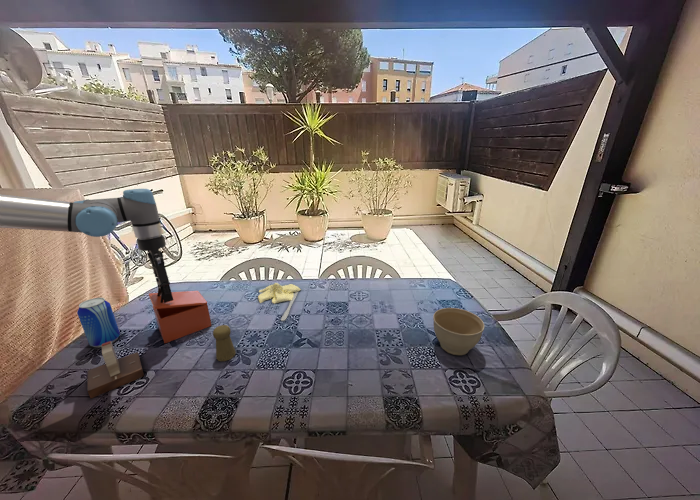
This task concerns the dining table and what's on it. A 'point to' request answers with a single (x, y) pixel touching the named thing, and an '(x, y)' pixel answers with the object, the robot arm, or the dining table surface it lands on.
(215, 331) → the cork
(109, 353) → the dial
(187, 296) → the box lid
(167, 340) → the orange box
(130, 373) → the brown flat block
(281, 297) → the cloth
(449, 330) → the planter bowl
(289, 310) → the butter knife
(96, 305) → the beer can
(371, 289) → the dining table surface
